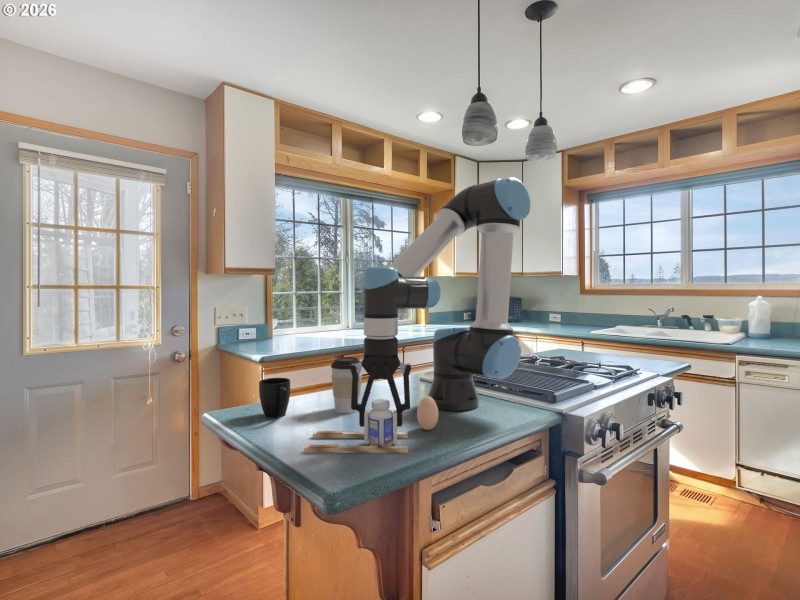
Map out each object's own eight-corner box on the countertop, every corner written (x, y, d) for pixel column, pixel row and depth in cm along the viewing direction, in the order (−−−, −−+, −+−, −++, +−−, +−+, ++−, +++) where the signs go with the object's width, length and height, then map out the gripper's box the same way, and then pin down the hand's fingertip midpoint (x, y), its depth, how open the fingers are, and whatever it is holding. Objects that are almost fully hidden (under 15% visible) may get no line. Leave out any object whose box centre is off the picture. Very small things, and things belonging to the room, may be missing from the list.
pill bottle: (391, 439, 98) (391, 397, 98) (394, 448, 93) (394, 403, 92) (368, 440, 97) (368, 398, 97) (369, 449, 92) (369, 404, 92)
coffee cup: (324, 412, 120) (324, 358, 119) (341, 404, 128) (340, 354, 128) (353, 415, 116) (353, 361, 116) (368, 407, 125) (368, 356, 124)
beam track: (407, 436, 100) (407, 431, 100) (408, 452, 90) (408, 446, 90) (313, 436, 100) (313, 430, 100) (304, 452, 90) (304, 446, 90)
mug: (267, 425, 108) (266, 388, 108) (256, 413, 118) (255, 379, 118) (298, 420, 112) (298, 384, 112) (285, 409, 122) (285, 376, 122)
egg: (412, 428, 106) (412, 395, 105) (428, 424, 109) (428, 392, 108) (426, 434, 101) (426, 400, 101) (442, 430, 105) (442, 396, 104)
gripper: (422, 334, 98) (422, 434, 99) (341, 334, 98) (341, 434, 99) (424, 338, 91) (423, 447, 91) (336, 338, 91) (336, 446, 91)
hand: (380, 440), depth 95 cm, fingers open, 6 cm apart
